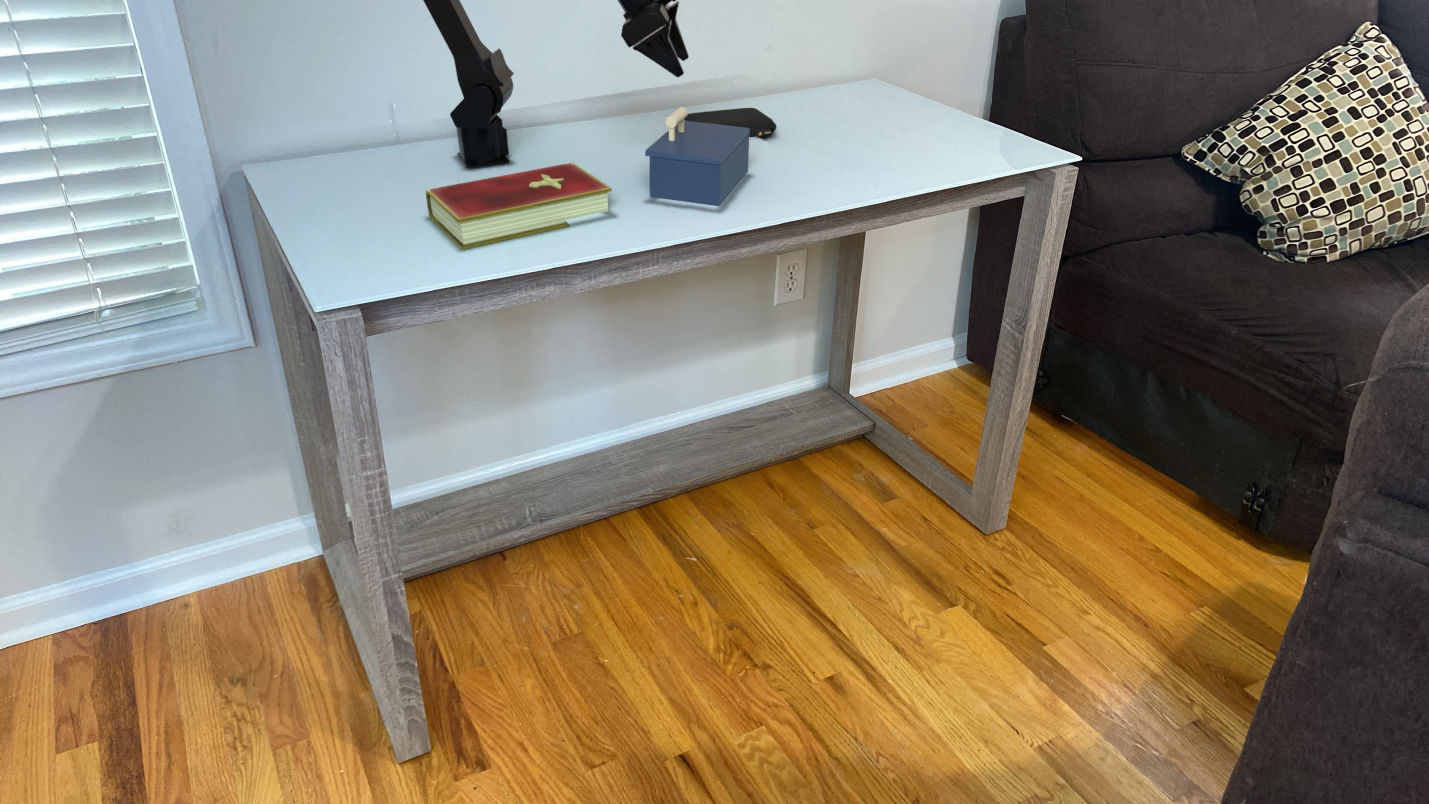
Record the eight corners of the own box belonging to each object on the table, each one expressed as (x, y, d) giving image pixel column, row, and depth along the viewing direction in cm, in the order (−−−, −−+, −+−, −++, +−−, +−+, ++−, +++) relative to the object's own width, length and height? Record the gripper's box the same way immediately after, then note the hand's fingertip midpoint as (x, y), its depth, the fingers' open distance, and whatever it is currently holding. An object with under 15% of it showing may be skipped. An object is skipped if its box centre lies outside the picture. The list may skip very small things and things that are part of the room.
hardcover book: (429, 217, 127) (424, 186, 125) (572, 188, 137) (570, 159, 135) (462, 249, 119) (458, 217, 117) (612, 216, 129) (611, 186, 127)
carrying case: (699, 150, 152) (783, 140, 157) (699, 130, 151) (784, 122, 156) (675, 130, 161) (756, 121, 165) (675, 111, 159) (757, 104, 164)
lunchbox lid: (645, 156, 130) (644, 125, 128) (680, 125, 142) (680, 96, 140) (720, 165, 128) (720, 134, 125) (749, 133, 139) (750, 104, 137)
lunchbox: (650, 202, 134) (649, 157, 130) (683, 168, 145) (684, 126, 142) (718, 211, 131) (720, 165, 128) (747, 176, 143) (749, 133, 139)
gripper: (663, -59, 120) (729, 52, 127) (676, -78, 136) (734, 22, 143) (591, -9, 124) (659, 96, 131) (612, -33, 139) (671, 62, 146)
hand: (683, 67), depth 137 cm, fingers open, 9 cm apart
